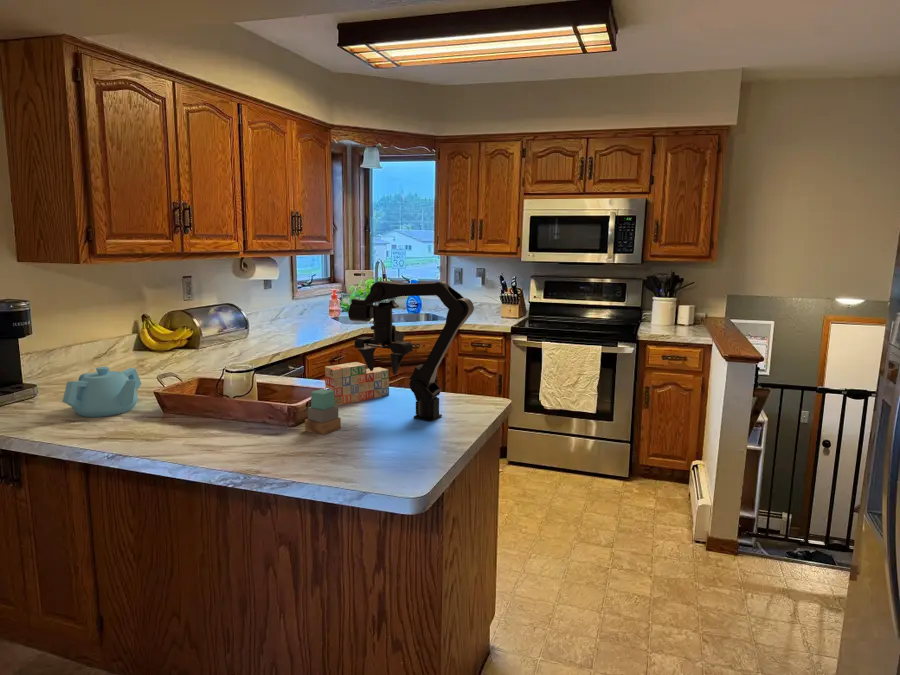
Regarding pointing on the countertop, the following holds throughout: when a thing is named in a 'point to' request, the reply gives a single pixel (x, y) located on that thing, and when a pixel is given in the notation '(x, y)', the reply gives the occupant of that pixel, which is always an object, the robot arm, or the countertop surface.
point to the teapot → (103, 392)
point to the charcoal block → (323, 414)
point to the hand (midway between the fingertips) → (383, 372)
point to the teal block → (322, 399)
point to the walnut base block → (323, 426)
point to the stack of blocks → (356, 382)
